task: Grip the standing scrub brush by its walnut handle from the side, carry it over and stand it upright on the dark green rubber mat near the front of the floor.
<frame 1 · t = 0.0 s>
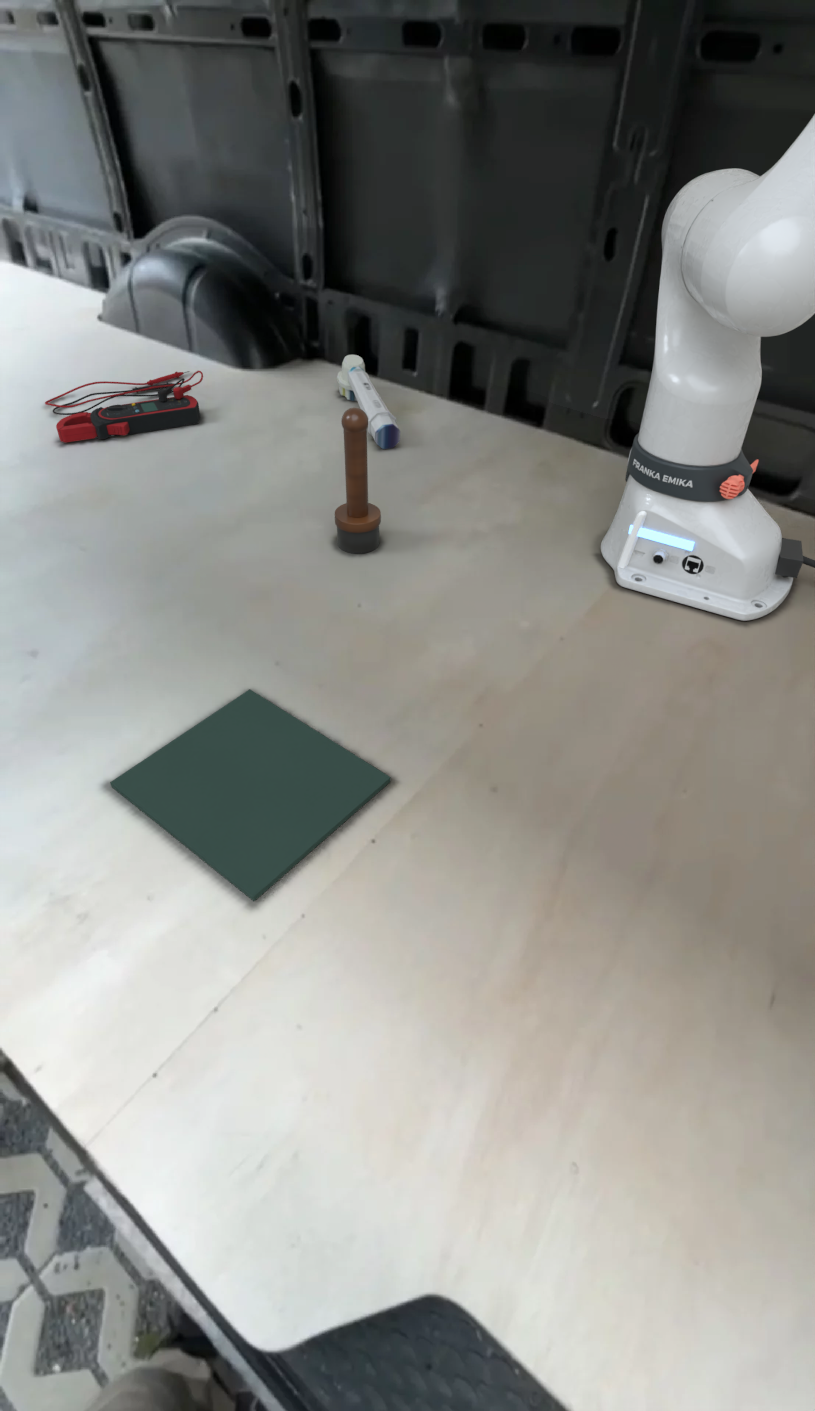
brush: (358, 542, 99), on the table
mat: (252, 784, 69), on the table
toothbrush head: (367, 418, 128), on the table
digital clamp meter: (131, 410, 129), on the table
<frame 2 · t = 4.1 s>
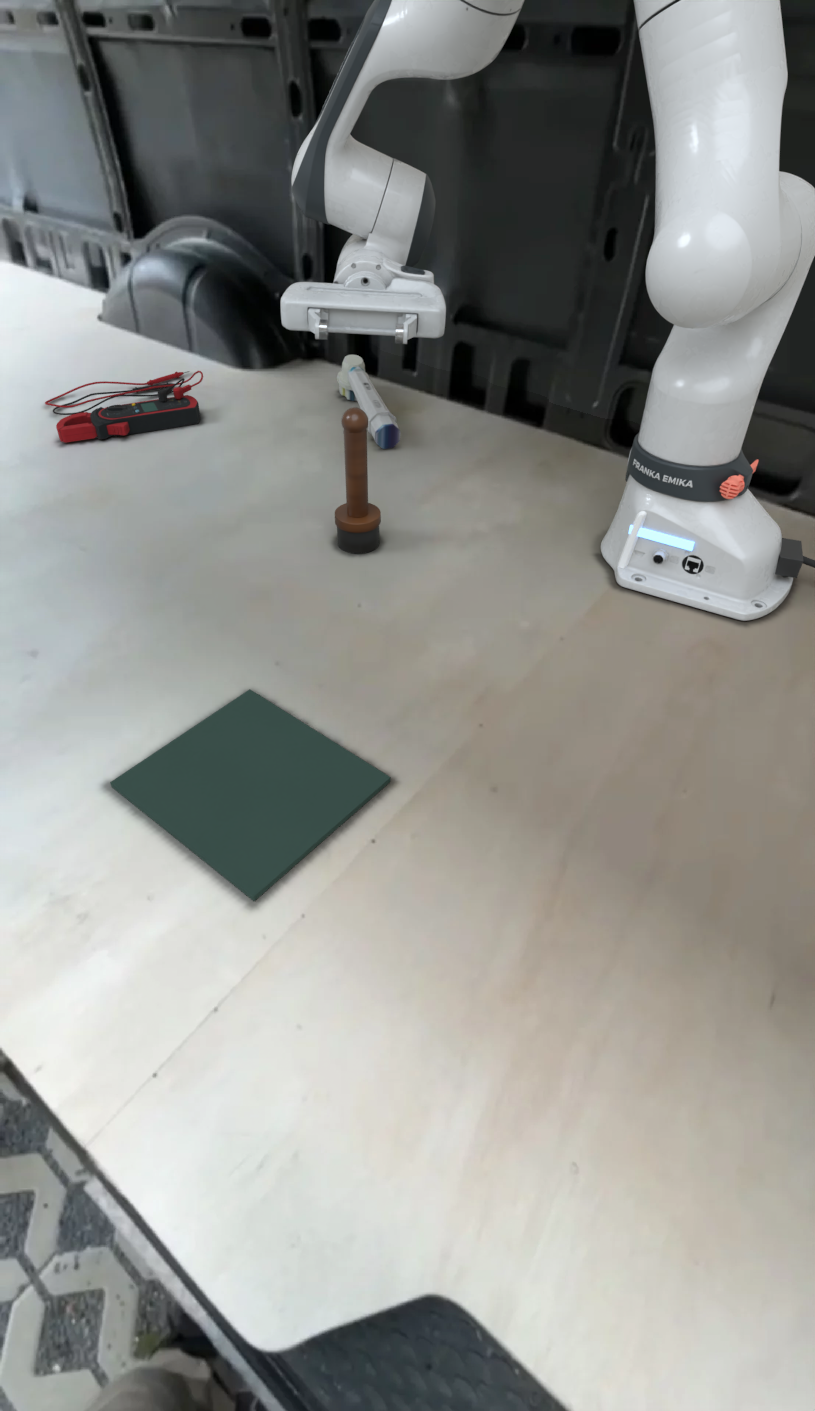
hand: (361, 335, 93), 21 cm above the table, tool horizontal, fingers open, 8 cm apart
nothing on the table moved.
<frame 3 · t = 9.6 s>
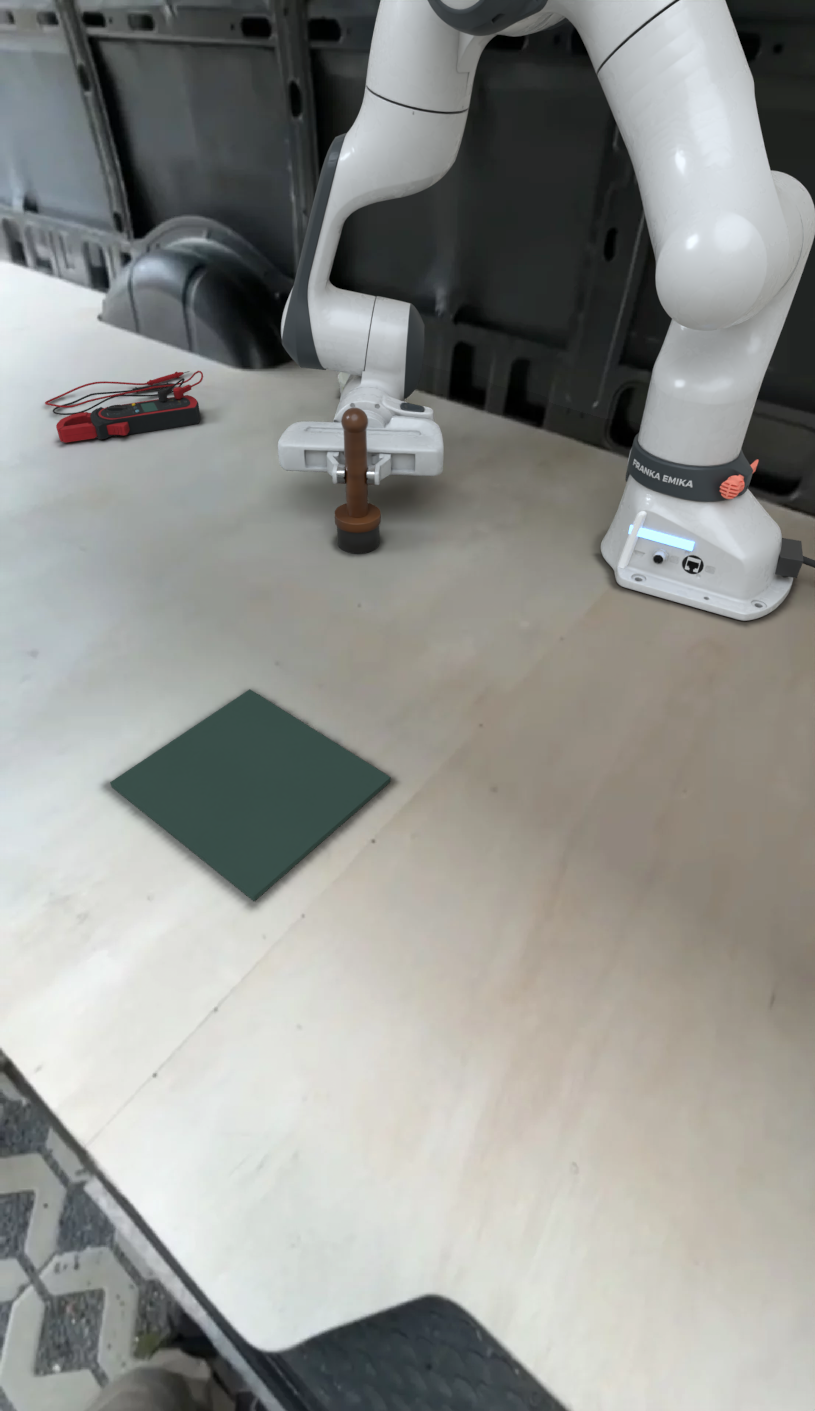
hand: (355, 478, 92), 9 cm above the table, tool horizontal, fingers closed on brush, 2 cm apart
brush: (358, 542, 99), on the table, touching gripper
everything else where it was.
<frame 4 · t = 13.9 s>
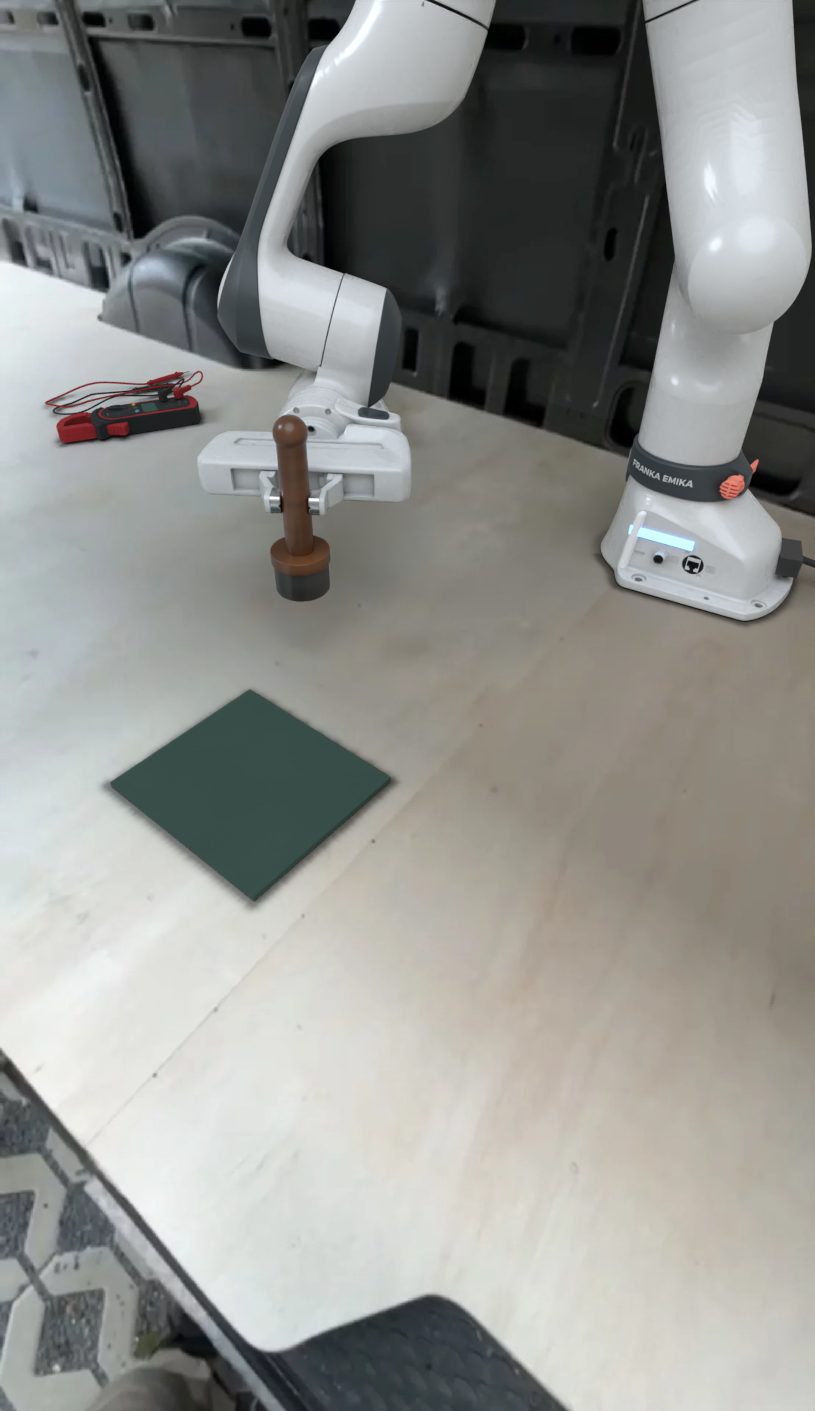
hand: (294, 507, 70), 17 cm above the table, tool horizontal, fingers closed on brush, 2 cm apart
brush: (303, 586, 77), point 8 cm above the table, touching gripper
everything else where it was.
when the fingers open (10 cm above the table, at t = 18.6 s): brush stays where it is, resting on mat.
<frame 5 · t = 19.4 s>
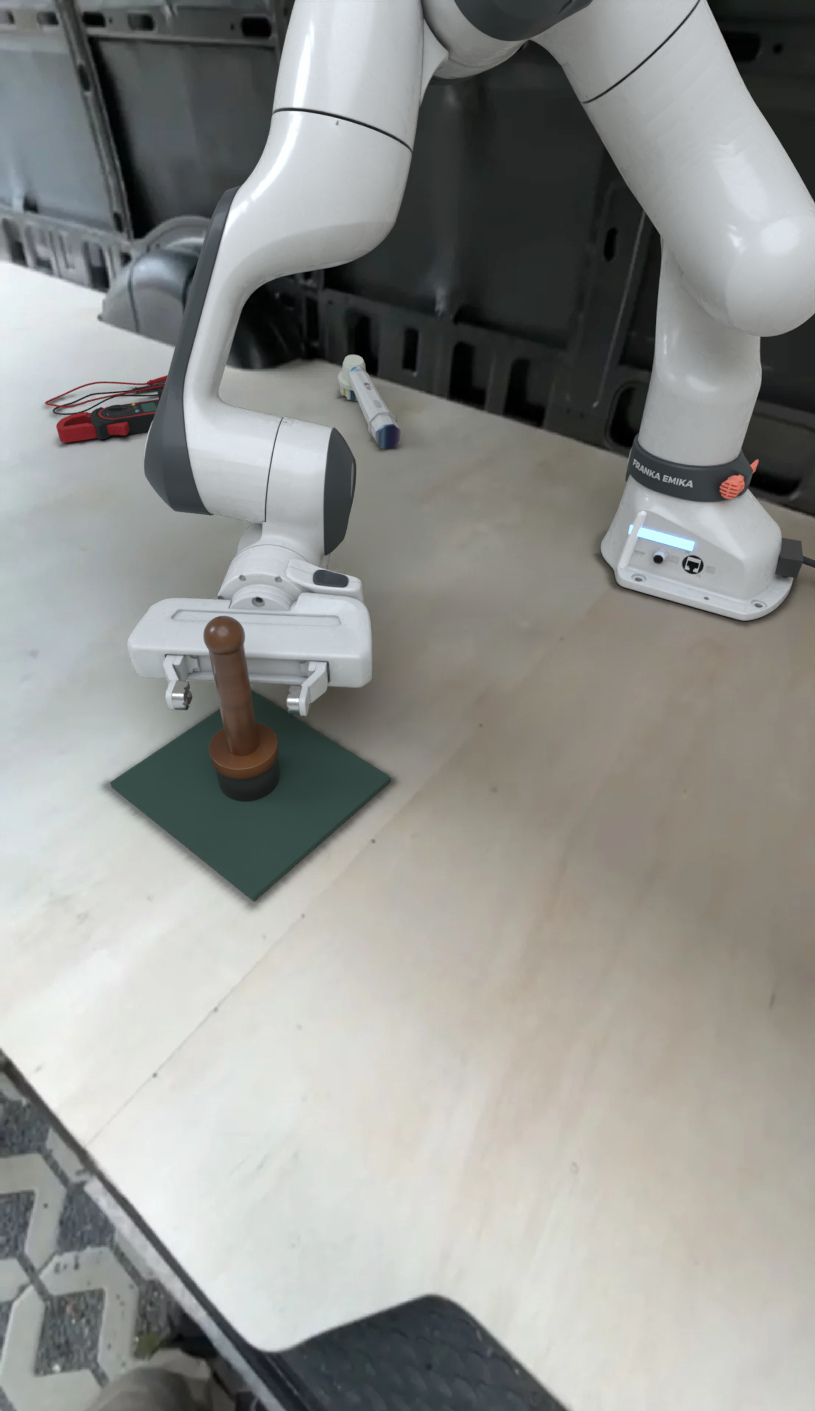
hand: (235, 706, 61), 10 cm above the table, tool horizontal, fingers open, 8 cm apart
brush: (249, 778, 68), point 1 cm above the table, touching mat
everything else where it was.
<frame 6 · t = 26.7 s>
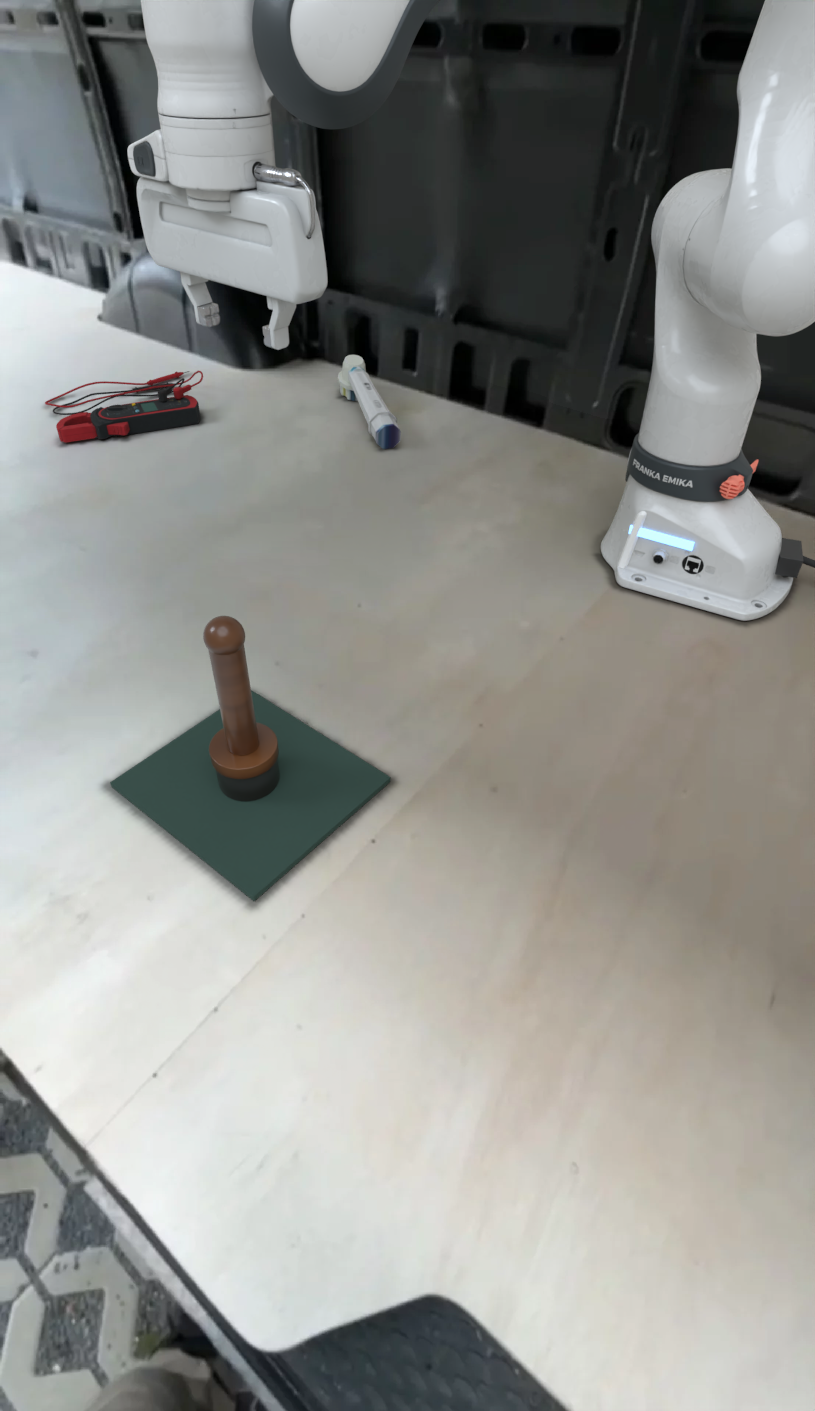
hand: (241, 335, 74), 27 cm above the table, tool pointing down, fingers open, 8 cm apart
nothing on the table moved.
at the end: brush inside the target area on the mat (0.2 cm from its centre), point 0.6 cm above the mat's base; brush tilted 0°; the gripper is holding nothing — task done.
